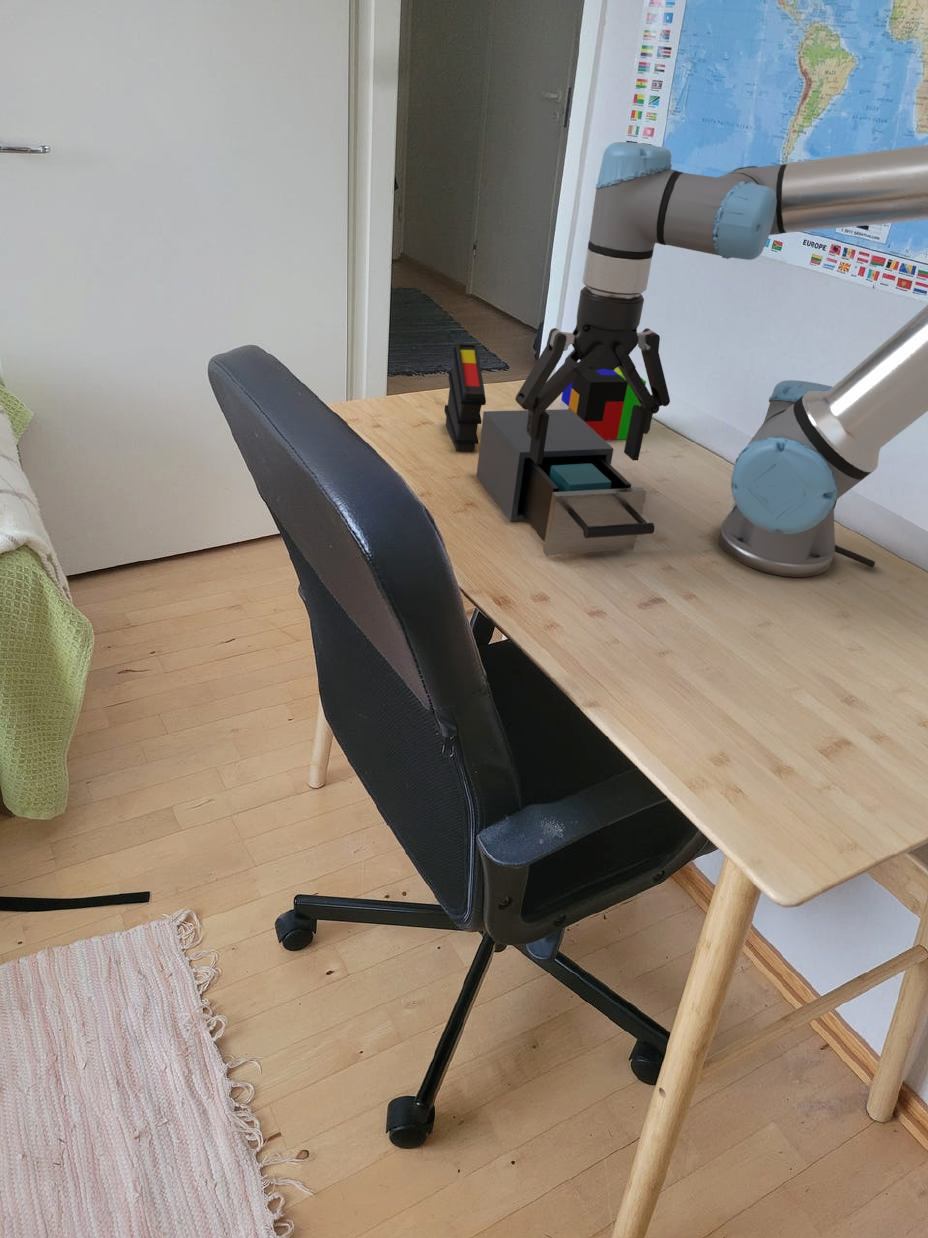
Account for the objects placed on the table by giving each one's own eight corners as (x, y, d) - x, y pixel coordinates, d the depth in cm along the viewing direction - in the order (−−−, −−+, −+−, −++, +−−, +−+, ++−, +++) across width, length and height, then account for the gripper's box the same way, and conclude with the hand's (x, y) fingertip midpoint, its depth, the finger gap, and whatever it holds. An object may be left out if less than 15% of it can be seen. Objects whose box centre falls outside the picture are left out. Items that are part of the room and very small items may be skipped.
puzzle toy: (558, 418, 167) (567, 362, 161) (610, 416, 170) (620, 361, 164) (580, 440, 159) (590, 382, 153) (634, 438, 162) (646, 381, 156)
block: (582, 509, 131) (591, 462, 127) (602, 529, 127) (611, 481, 123) (543, 512, 129) (550, 465, 125) (561, 533, 125) (570, 484, 121)
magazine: (462, 410, 161) (478, 342, 148) (472, 470, 154) (489, 404, 141) (441, 409, 160) (454, 341, 147) (449, 470, 153) (464, 403, 141)
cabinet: (600, 516, 135) (613, 448, 129) (510, 522, 131) (519, 452, 125) (560, 472, 147) (570, 408, 141) (476, 476, 142) (483, 411, 137)
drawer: (657, 573, 120) (671, 514, 116) (566, 581, 116) (577, 520, 112) (591, 503, 136) (601, 448, 131) (509, 508, 132) (517, 451, 128)
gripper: (690, 283, 118) (655, 443, 130) (503, 279, 111) (483, 450, 122) (721, 299, 112) (682, 466, 124) (526, 297, 105) (503, 474, 116)
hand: (583, 458), depth 123 cm, fingers open, 13 cm apart
